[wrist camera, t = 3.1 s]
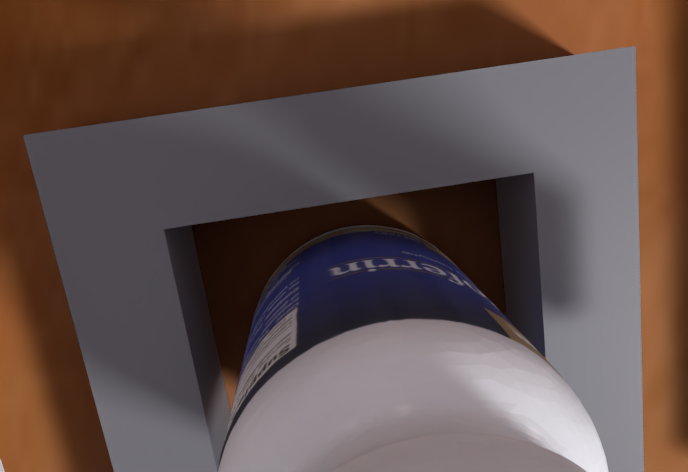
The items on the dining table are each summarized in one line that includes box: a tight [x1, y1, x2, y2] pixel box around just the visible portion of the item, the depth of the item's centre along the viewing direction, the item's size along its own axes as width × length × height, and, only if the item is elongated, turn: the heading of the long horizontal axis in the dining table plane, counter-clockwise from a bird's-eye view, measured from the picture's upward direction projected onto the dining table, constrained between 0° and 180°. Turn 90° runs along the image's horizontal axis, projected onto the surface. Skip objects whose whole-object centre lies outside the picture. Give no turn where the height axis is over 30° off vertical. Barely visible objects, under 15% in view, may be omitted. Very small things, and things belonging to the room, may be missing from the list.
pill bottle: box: [218, 225, 609, 472], centre depth 10 cm, size 6×6×10 cm
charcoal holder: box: [23, 46, 644, 472], centre depth 14 cm, size 12×12×2 cm
